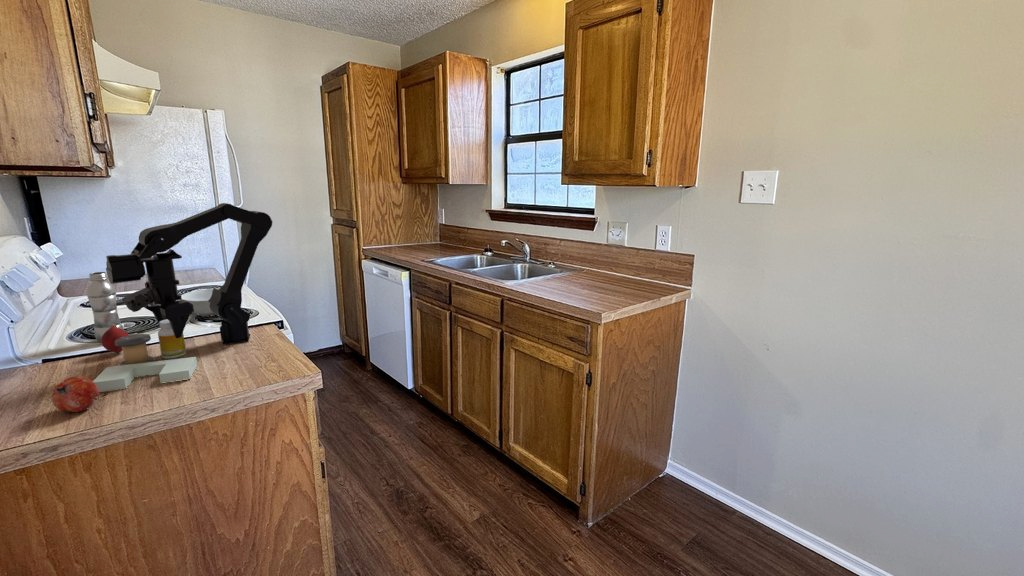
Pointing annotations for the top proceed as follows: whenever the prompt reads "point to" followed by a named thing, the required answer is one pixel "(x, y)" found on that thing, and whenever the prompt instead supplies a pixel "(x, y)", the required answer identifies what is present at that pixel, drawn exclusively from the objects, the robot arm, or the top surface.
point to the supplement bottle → (170, 341)
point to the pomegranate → (75, 394)
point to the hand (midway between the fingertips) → (171, 334)
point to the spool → (134, 349)
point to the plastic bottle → (102, 304)
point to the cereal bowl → (200, 301)
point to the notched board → (145, 373)
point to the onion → (113, 338)
